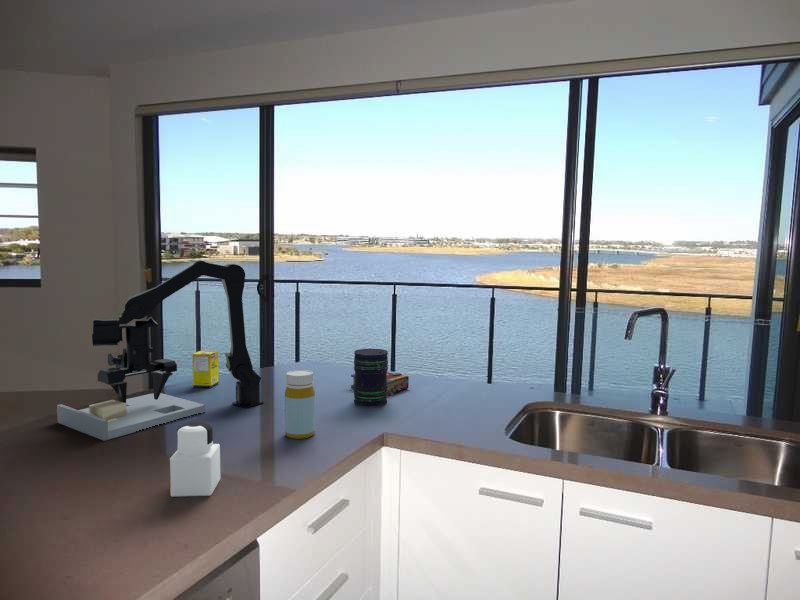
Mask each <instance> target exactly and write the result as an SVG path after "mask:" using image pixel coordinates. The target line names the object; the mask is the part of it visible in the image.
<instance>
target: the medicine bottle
mask: <svg viewBox="0 0 800 600" xmlns="http://www.w3.org/2000/svg"><path fill="white" fill-rule="evenodd" d="M213 427H214V426H213V425H212V424H211V423H210V422H209V423H208V422H206V421H198V420H197V421H190V422H186V423H184V424H182V425H180V426H179V427H178V428H177V430H176V432H177V433H176V437H177V440H176V441H177V450H176V451H175V452H174V453H173V454H172V455H171V457H170V458H169V487H170V489H169V490H170V491H169V492H170V496H171V497H172V498H173V497H174V498H175V497H208V496H209V497H210V496H211V495H213V493H214V491H215V489H216V487H217V486H218V484H219V483H220V480H221V446H220V444H219V443H214V437H213V436H214V435H213V434H214V433H213Z"/></svg>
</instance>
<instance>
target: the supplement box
mask: <svg viewBox="0 0 800 600" xmlns="http://www.w3.org/2000/svg"><path fill="white" fill-rule="evenodd" d="M191 356H192V383H193V385H192V386H193V388H202V387H207V388H208V387H209V388H208V389H211V387H212V388H213V387H215V386H217V385H219V384H218V383H220V382H219V381H220V380H219V378H220V377H219V376H220V375H219V373H220V372H219V351H218V350H198V351H196V352H193V353H192V355H191ZM216 384H217V385H216ZM214 385H215V386H214ZM207 388H206V389H207Z"/></svg>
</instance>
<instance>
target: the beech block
mask: <svg viewBox="0 0 800 600" xmlns="http://www.w3.org/2000/svg"><path fill="white" fill-rule="evenodd" d="M88 408H89V414H91V415H94V416H97V417H99V418H102V419H105V420H110V419H114V418H118V417H122V416H125V415H127V408H126V403H123V402H119V400H116V399H110V400H109V399H108V400H105V401H101V402H98V403H93V404H89V405H88Z"/></svg>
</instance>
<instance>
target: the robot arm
mask: <svg viewBox="0 0 800 600" xmlns="http://www.w3.org/2000/svg"><path fill="white" fill-rule="evenodd" d="M245 271H246V270H245V269H244V268H243V267H242V266H241V265H239V264H236V263H228V264H225V265H220V264H216V263H212V262H211V263H210V262H206V261H204V260H200V259H199V260H196V261H194V262H193V263H192V264H191V265H189V266H188V267H186V268H185V269H183V270H181V271H179V272H177V274H174V275H173V276H172V277H170V278H168V279H167V280H165V281H164V282H161V283H160V284H158V285H157V286H155V287H152V288H149V289H147V290H144V291H142V292H139V293H137V294H135V295H134V294H133V295H132V296H129V298H128V299H127V300H126V302H125V304H124V311H123V312H122V313H121V314H119V315H118V317H117V319H100V318H99V319H98V318H96V319H93V322H92V323H93V324H92V334H91V338H92V339H91V340H92V342H91V343H92V347H109V346H110V347H111V346H119V343H121V342H124V330H123V329H125V346H126V347H124V348H123V349H122V354H118V353H119V352H110V353H108V354H107V365H108V366H109V367H110V368H104V369H100V370H99V371H98V373H97V381H98V382H99V383H104V384H105V385H108V386H111V388H112V390H113V391H114V394H115V395H116V397H117V399H118V400H117V401H119V402H123V403H126V399H127V393H128V392H127V389H128V388H127V387H128V382H127V381H125V379H126V378H127V377H132V376H137V375H144V374H148V373H150V374H151V376H152V379H153V393H154V399H155V400H157V399H158V398H159V396H160V393H162V392H163V389H164V387H165V385H166V384H167V381H169V378H170V377H171V376H173V374H174V373H175V372H177V371H178V363H177V362H176V361H175V360H172V359H167V358H163V359H162V358H161V359H157V360H153V362H152V353H154V352H155V351H154V347H151V328H156V327H158V326H159V325H158V322H157V321H156V320H154V319H153V317H152V316H150V317H148V319H144V318H146V317H147V316H148V315H149V314H151V312H152V311H154V309H156V308H157V307H158V306H159V305H160V304H161V303H162V302H163V301H164V300H165V299H167V298H169V297H171V296H172V295H173V294H175V293H176V292H178V291H180V290H181V289H183V288H184V287H186V286H187V285H189V284H191V283H193V282H194V281H196V280H197V279H199V278H201V277H203V276H205V277H210V278H215V279H219V280H221V284H222V287H223V289H224V294H225V295H226V298H227V299H226V300H227V312H228V323H229V324H228V325H229V335H230V350H229V352H224V357H225V359H226V363H225V368H226V369H227V370H228V372H229V373H230V374H231V375H232V377H233V378H234V379H235V380H237V381H236V382H235V384H236V385H235V401H232V402H231V404H232V405H233V406H237V407H242V408H251V407H255V406H257V405H261V404H264V403H265V401H264V400H261V394H260V393H261V390H260V387H261V386H260V382H261V380H262V377H261V376H260V375H259V374H258V373H257V371H255V370H254V369H253V368H254V367H253V364H252V363H253V362H252V360H251V356H250V353H249V351H248V348H247V343H246V342H247V341H246V327H245V318H244V317H245V316H244V305H243V294H244V289H245V282H246V272H245ZM141 319H142V320H141ZM134 320H135V323H130V322H132V321H134ZM129 323H130V324H129ZM114 366H115V367H114Z"/></svg>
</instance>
